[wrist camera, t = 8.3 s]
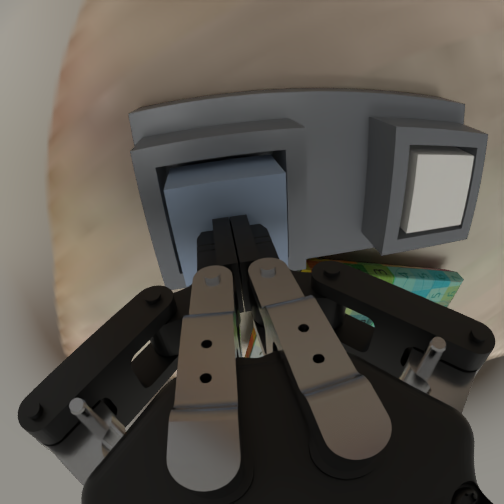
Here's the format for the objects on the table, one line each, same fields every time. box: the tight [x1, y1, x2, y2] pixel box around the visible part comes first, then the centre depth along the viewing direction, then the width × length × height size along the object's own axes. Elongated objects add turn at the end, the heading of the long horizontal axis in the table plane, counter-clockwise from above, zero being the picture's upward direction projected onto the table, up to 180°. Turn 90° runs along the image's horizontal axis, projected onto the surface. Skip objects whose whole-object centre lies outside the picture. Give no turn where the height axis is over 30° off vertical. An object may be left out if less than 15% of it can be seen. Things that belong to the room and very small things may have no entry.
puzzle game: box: [245, 258, 464, 358], centre depth 27 cm, size 12×5×20 cm
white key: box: [399, 145, 474, 233], centre depth 17 cm, size 5×5×3 cm
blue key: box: [164, 154, 288, 287], centre depth 15 cm, size 5×5×3 cm
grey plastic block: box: [129, 88, 488, 290], centre depth 18 cm, size 22×11×6 cm, turn 94°
